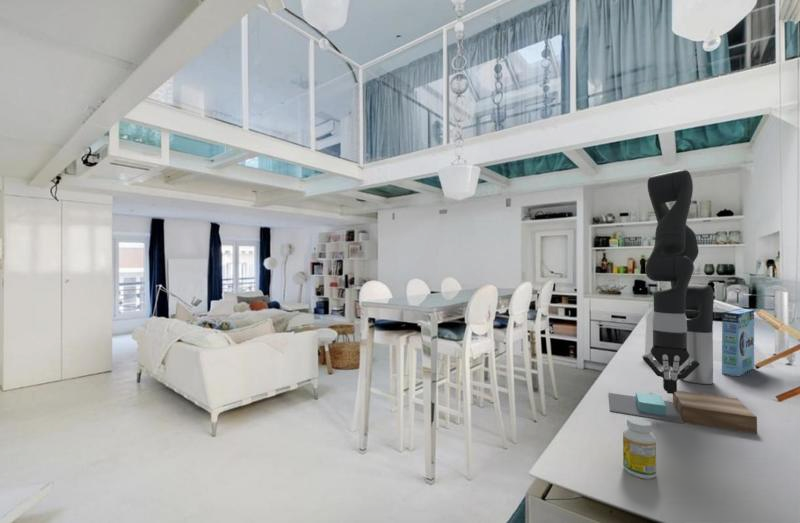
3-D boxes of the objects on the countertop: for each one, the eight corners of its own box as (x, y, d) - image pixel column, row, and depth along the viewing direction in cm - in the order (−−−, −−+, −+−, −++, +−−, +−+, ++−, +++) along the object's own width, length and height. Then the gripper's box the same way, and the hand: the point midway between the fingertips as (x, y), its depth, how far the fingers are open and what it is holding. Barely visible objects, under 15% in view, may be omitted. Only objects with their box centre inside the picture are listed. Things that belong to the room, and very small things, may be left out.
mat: (608, 393, 114) (608, 392, 114) (672, 402, 106) (672, 401, 106) (610, 411, 100) (610, 410, 100) (683, 423, 92) (683, 422, 92)
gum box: (738, 366, 146) (737, 308, 147) (755, 369, 142) (755, 309, 142) (721, 373, 136) (720, 311, 136) (739, 377, 131) (738, 313, 132)
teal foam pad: (660, 395, 104) (660, 404, 104) (635, 391, 107) (635, 400, 107) (666, 405, 96) (666, 415, 96) (639, 401, 99) (639, 411, 99)
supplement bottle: (654, 483, 67) (654, 429, 67) (620, 472, 70) (620, 421, 70) (657, 470, 71) (657, 420, 71) (625, 461, 74) (625, 413, 74)
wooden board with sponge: (672, 404, 105) (672, 389, 105) (737, 413, 99) (736, 398, 99) (682, 422, 93) (682, 406, 93) (757, 434, 86) (756, 417, 87)
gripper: (696, 328, 100) (697, 392, 100) (639, 325, 107) (639, 385, 106) (703, 333, 94) (704, 401, 94) (642, 329, 100) (642, 393, 100)
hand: (669, 392), depth 100 cm, fingers closed
